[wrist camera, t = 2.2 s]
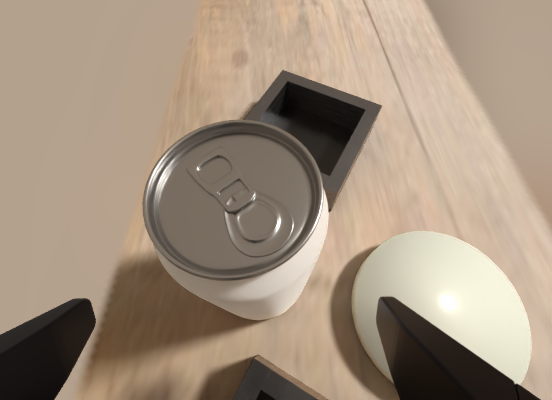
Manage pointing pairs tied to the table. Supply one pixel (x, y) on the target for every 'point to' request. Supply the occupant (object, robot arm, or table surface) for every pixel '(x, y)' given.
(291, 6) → the table surface
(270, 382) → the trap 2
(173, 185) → the can
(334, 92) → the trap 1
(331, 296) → the table surface
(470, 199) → the table surface
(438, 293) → the pad
